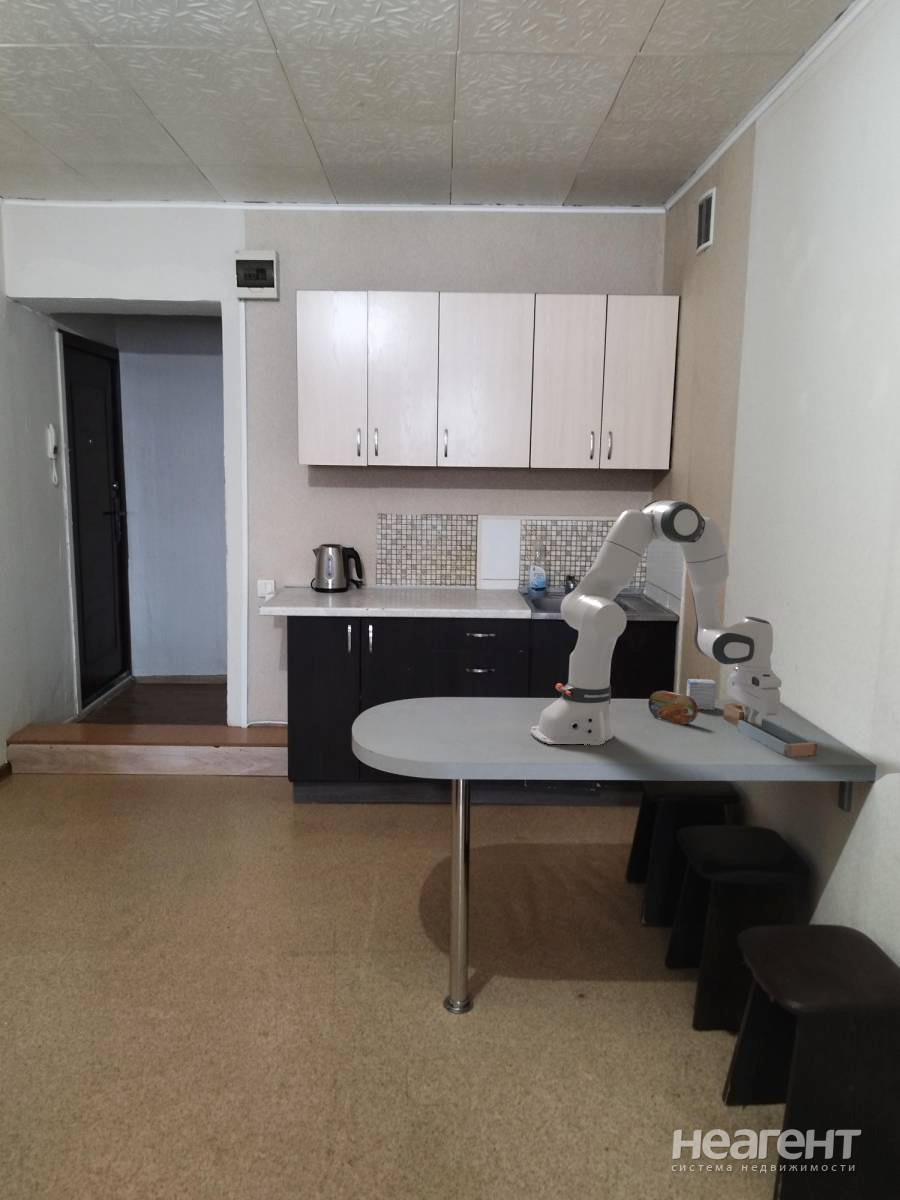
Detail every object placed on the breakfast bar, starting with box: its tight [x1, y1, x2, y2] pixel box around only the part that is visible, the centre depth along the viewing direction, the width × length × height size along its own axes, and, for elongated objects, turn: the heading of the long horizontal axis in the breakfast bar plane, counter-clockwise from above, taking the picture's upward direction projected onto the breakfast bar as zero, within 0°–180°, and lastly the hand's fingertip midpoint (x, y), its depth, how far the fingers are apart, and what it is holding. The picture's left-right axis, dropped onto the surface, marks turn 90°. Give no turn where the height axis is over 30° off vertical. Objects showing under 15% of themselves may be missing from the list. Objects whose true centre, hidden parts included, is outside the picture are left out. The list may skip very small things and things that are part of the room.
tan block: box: [723, 702, 755, 728], centre depth 236 cm, size 5×8×4 cm, turn 12°
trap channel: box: [737, 718, 818, 758], centre depth 219 cm, size 9×22×3 cm, turn 14°
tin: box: [647, 690, 699, 725], centre depth 237 cm, size 15×3×8 cm, turn 44°
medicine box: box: [685, 678, 717, 711], centre depth 250 cm, size 8×4×9 cm, turn 84°
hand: (749, 721), depth 230 cm, fingers closed
